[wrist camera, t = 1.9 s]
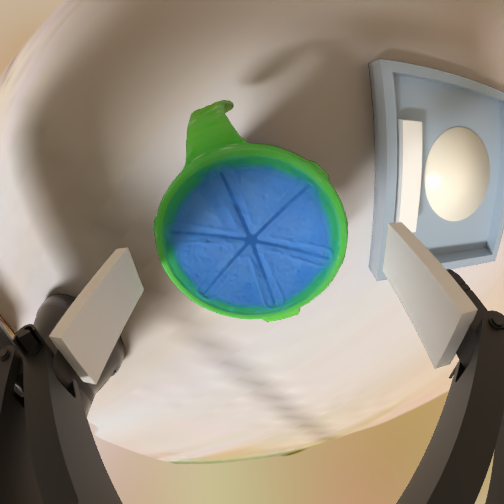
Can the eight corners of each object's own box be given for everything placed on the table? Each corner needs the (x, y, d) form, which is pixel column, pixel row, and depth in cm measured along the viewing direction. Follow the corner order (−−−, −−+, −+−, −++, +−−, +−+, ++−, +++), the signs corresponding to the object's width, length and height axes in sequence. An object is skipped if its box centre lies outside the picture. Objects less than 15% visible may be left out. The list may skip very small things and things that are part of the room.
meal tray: (368, 267, 26) (377, 281, 24) (368, 63, 17) (380, 58, 15) (484, 250, 25) (495, 261, 23) (499, 94, 15) (514, 96, 13)
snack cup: (324, 256, 26) (352, 331, 17) (220, 276, 27) (205, 354, 19) (295, 90, 19) (324, 74, 10) (170, 122, 20) (110, 134, 11)
